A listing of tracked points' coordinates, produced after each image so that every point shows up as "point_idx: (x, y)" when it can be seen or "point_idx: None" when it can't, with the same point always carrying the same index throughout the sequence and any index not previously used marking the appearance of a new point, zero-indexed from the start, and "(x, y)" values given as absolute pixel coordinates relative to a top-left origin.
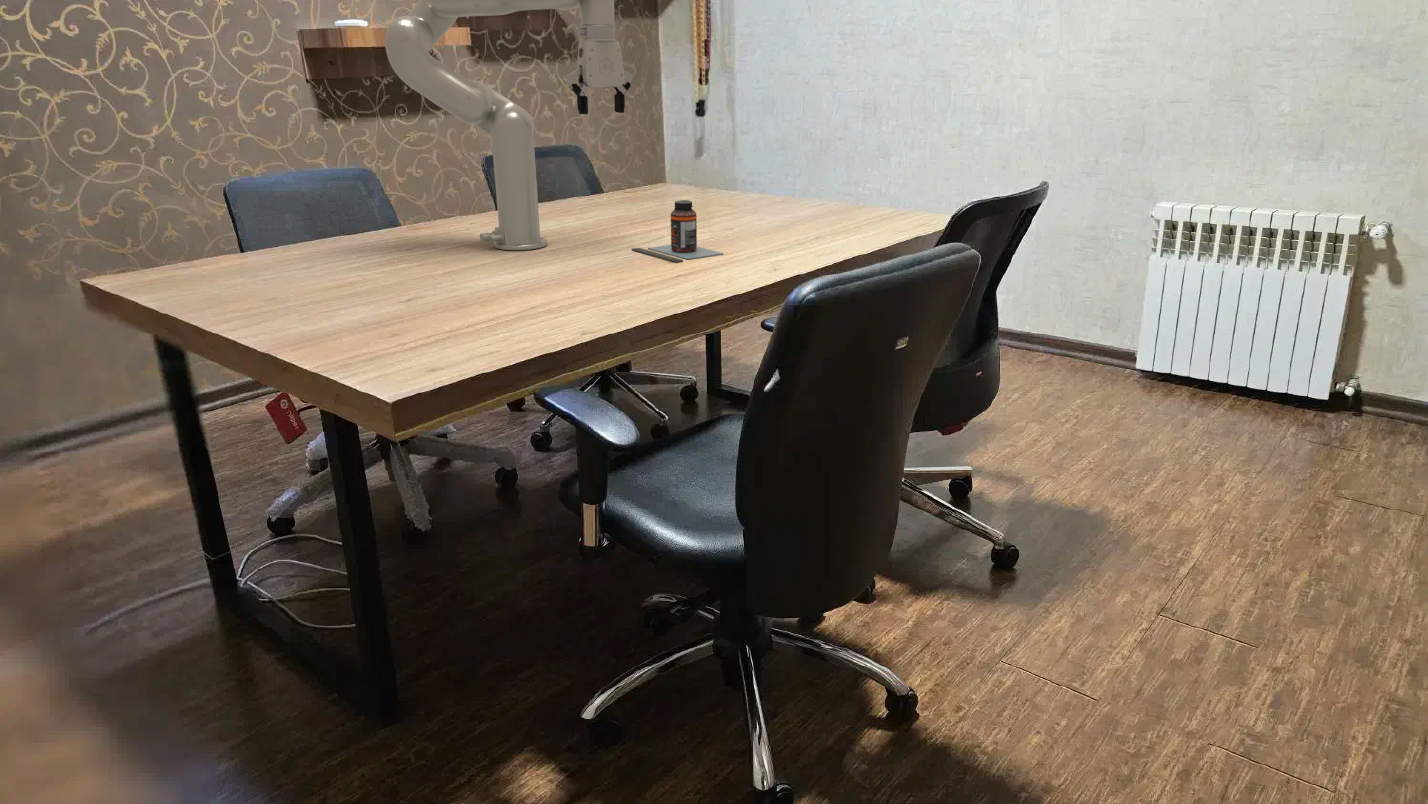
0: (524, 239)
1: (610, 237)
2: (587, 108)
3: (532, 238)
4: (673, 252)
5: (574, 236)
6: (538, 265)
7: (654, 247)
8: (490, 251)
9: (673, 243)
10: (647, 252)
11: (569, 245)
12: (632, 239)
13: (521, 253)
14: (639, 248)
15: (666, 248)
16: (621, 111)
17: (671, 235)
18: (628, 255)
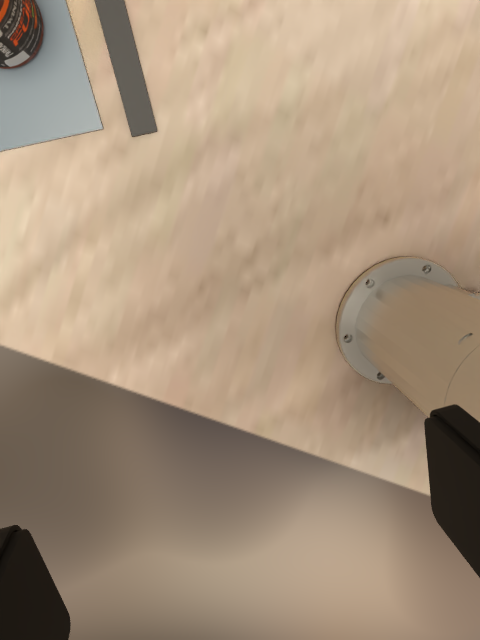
0: (417, 277)
1: (155, 349)
2: (461, 441)
3: (395, 282)
4: (45, 9)
5: (239, 396)
6: (451, 46)
7: (82, 124)
8: (477, 285)
9: (35, 4)
10: (128, 46)
11: (289, 283)
12: (105, 298)
13: (427, 229)
14: (133, 124)
15: (49, 89)
16: (21, 532)
17: (30, 14)
18: (187, 62)
